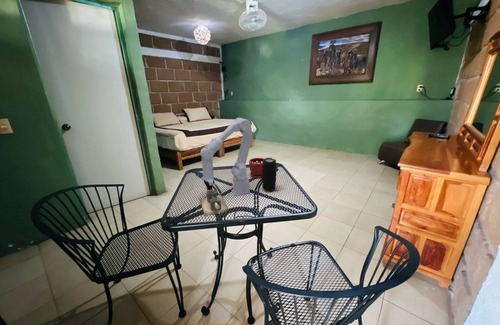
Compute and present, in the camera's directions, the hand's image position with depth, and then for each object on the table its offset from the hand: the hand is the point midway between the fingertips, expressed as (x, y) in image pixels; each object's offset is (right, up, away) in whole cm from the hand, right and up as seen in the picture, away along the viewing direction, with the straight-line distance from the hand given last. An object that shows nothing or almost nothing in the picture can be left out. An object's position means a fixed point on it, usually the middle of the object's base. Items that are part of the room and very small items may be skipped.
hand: (209, 192), depth 115 cm
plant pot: (+29, +7, +32) cm, 44 cm away
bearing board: (+3, -6, -7) cm, 10 cm away
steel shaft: (+4, -4, -9) cm, 10 cm away
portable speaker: (+35, 0, +11) cm, 36 cm away
